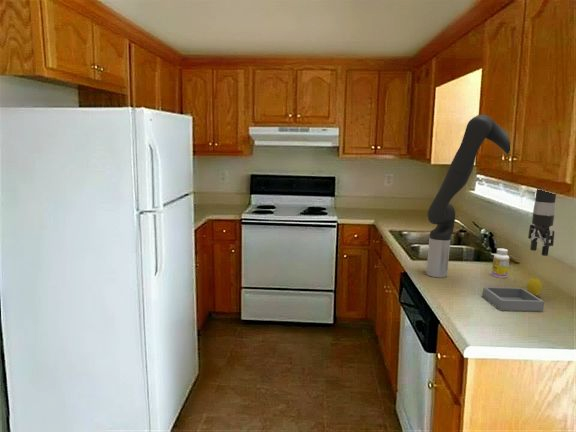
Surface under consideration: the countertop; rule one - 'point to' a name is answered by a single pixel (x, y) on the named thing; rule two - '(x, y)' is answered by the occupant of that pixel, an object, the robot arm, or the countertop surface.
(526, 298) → the box
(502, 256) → the supplement bottle
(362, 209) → the countertop surface
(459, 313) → the countertop surface
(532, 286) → the lemon
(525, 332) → the countertop surface
